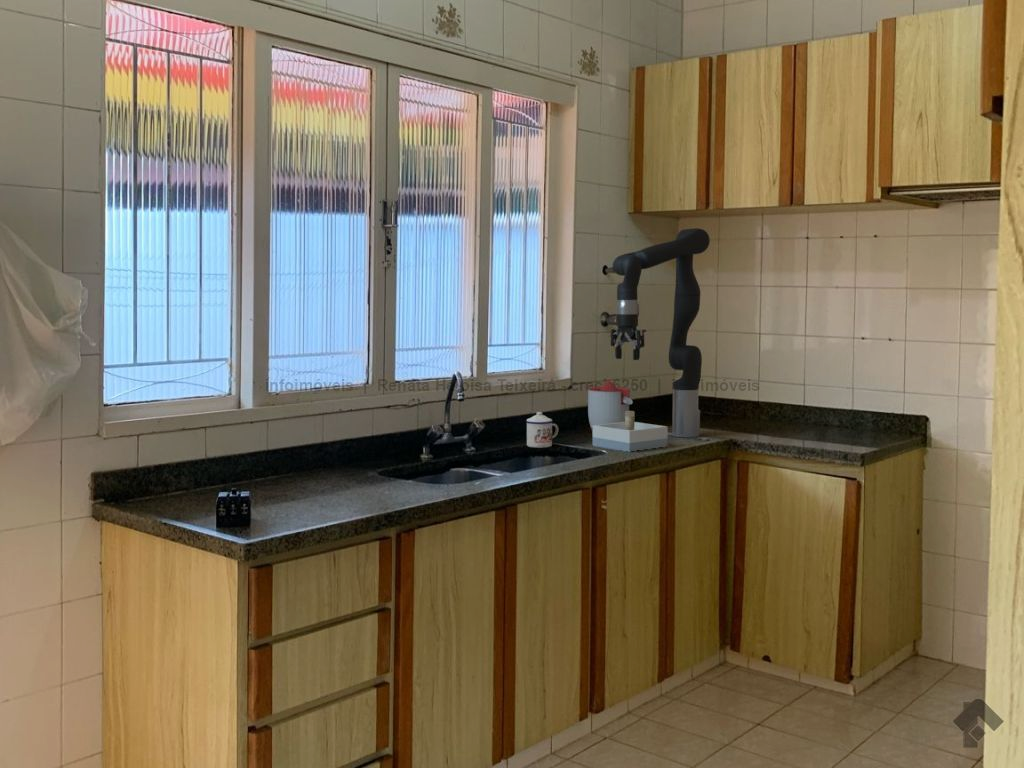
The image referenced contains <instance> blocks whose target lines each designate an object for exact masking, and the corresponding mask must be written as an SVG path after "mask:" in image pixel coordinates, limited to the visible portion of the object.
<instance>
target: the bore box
mask: <svg viewBox="0 0 1024 768" xmlns="http://www.w3.org/2000/svg"><path fill="white" fill-rule="evenodd" d="M668 427H669V426H665V425H660V424H659V425H658V424H651V423H645V422H639V421H634V430H625V422H620V423H611V424H602V425H593V432H592V446H593V447H598V448H603V449H609V450H616V451H620V450H622V451H621V452H626V451H628V452H627V453H632V452H631V451H634V452H638V451H637V450H641V451H645V450H644V449H648V450H652V449H651V448H656V449H659V448H658V447H663V448H667V447H668ZM666 446H667V447H666Z"/></svg>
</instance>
